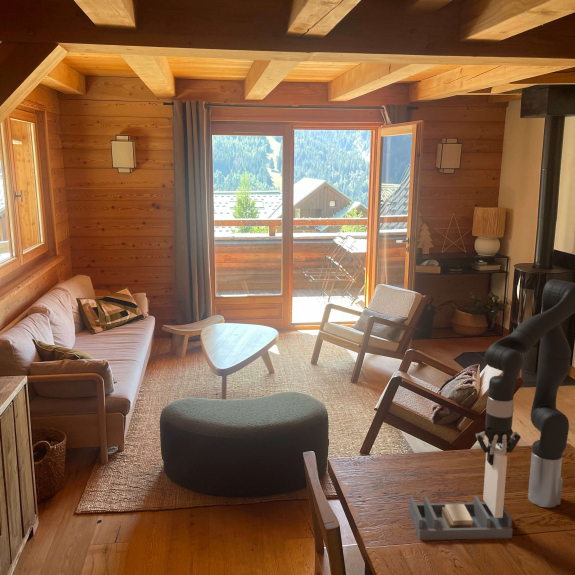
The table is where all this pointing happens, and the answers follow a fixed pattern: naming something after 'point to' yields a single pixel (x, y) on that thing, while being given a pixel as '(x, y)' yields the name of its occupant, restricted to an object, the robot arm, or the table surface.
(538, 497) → the robot arm
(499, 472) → the white rectangular board
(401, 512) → the table surface
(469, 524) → the offcuts
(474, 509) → the rack
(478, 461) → the table surface
